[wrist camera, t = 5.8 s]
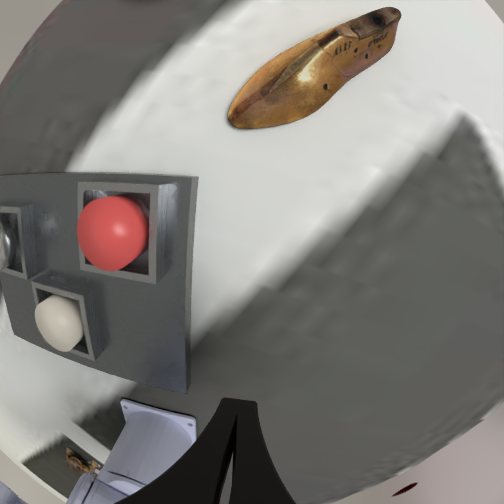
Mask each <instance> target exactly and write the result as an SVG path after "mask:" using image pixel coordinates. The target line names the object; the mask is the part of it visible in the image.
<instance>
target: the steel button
mask: <svg viewBox="0 0 504 504" xmlns="http://www.w3.org/2000/svg"><path fill="white" fill-rule="evenodd" d="M16 255H17V243H16V237H15V233H14V230H13V228H12V226H11V224H10V222H9V221H8V220H7V219H6V218H5V217H3V216H0V270H2V269H4V268H6V267H9V266H11V265H12V264H13V263H14V262H15V259H16Z"/></svg>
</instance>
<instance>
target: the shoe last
mask: <svg viewBox="0 0 504 504" xmlns="http://www.w3.org/2000/svg"><path fill="white" fill-rule="evenodd" d="M400 18H401V12H400V11H399V10H398V9H396V8H393V7H385V8H381V9H378V10H375V11H372V12H370V13H367V14H365V15H362V16H360V17H358V18H355V19H352V20H350V21H348V22H346V23H344V24H341V25H338V26H336V27H334V28H332V29H329V30H327V31H325V32H322V33H320V34H317V35H315V36H313V37H311V38H309V39H307V40H305V41H303V42H301V43H299V44H297V45H295V46H294V47H292V48H290V49H288V50H286V51H285V52H283V53H281V54H279V55H278V56H277V57H275V58H274V59H272V60H271V61H269V62H268V63H267V64H265V65H264V66H263V67H262V68H260V69H259V70H258V71H257V72H256V73H255V74H254V75H253V76H252V77H251V78H250V79H249V80H248V82H247V83H246V84H245V85H244V86H243V87H242V89H241V90H240V91H239V92H238V94H237V96H236V97H235V99H234V101H233V102H232V104H231V106H230V109H229V112H228V119H229V122H230V123H231V124H232V125H233V126H235V127H237V128H242V129H253V128H263V127H272V126H278V125H282V124H287V123H291V122H294V121H296V120H299V119H302V118H304V117H306V116H309V115H310V114H312V113H314V112H315V111H317V110H318V109H319V108H321V107H322V106H323V105H324V104H325V103H326V102H327V101H328V100H329V99H330V98H331V97H332V96H333V95H334V94H335V93H336V92H337V91H338V90H339V89H340V88H341V87H342V86H343V85H344V84H345V83H346V82H347V81H349V80H350V79H351V78H353V77H354V76H356V75H357V74H359V73H360V72H362V71H363V70H365V69H367V68H368V67H370V66H371V65H373V64H374V63H376V62H377V61H378V60H379V59H381V58H382V57H383V56H385V55H386V54H387V53H388V52H389V51H390V49H391V48H392V46H393V44H394V41H395V35H396V31H397V26H398V23H399V20H400Z"/></svg>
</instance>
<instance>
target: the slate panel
mask: <svg viewBox="0 0 504 504" xmlns="http://www.w3.org/2000/svg"><path fill="white" fill-rule="evenodd" d="M197 187H198V177H194V176H180V175H164V174H144V173H114V172H52V173H25V174H7V175H0V216H3V217H5V218H6V219H7V220H8V221H9V222H10V224H11V226H12V228H13V230H14V233H15V237H16V243H17V255H16V259H15V262H14V263H13V264H12V265H11V266H9V267H6V268H4V269H2V270H0V278H1V284H2V289H3V293H4V298H5V302H6V306H7V311H8V314H9V318H10V322H11V325H12V329H13V332H14V335H16V336H18V337H20V338H22V339H24V340H26V341H28V342H31V343H33V344H35V345H37V346H39V347H41V348H44V349H46V350H48V351H50V352H53V353H55V354H58V355H60V356H62V357H65V358H67V359H70V360H72V361H75V362H78V363H80V364H83V365H86V366H89V367H91V368H94V369H97V370H100V371H103V372H106V373H109V374H112V375H115V376H118V377H122V378H125V379H128V380H132V381H135V382H139V383H142V384H146V385H150V386H154V387H158V388H162V389H166V390H170V391H174V392H179V393H183V394H187V391H188V388H189V386H190V383H191V381H190V322H191V284H192V261H193V242H194V226H195V212H196V199H197ZM118 194H129V195H132V196H134V197H136V198H138V199H139V200H141V201H142V202H143V203H144V204H145V206H146V207H147V209H148V210H149V212H150V215H149V247H148V249H147V250H146V251H145V252H144V253H143V254H142V255H141V256H139V257H138V258H136V259H135V260H133V261H132V262H130V263H129V264H128V265H126V266H125V267H123V268H122V269H119V270H116V271H105V270H102V269H99V268H97V267H96V266H94V265H93V264H92V263H91V262H90V261H89V260H88V259H87V258H86V257H85V255H84V254H83V252H82V250H81V248H80V245H79V242H78V237H77V224H78V219H79V216H80V214H81V212H82V210H83V209H84V207H85V206H86V205H87V204H88V203H90V202H91V201H93V200H96V199H99V198H104V197H108V196H113V195H118ZM53 294H58V295H61V296H64V297H68V298H71V299H75V300H79V304H80V310H81V316H82V322H83V328H84V333H85V336H84V337H83V338H82V339H81V340H80V341H79V342H78V343H77V344H76V345H75V346H74V347H73V348H72V349H71V350H70V351H67V352H63V351H59V350H57V349H55V348H54V347H52V346H51V345H50V344H49V343H48V342H47V341H46V340H45V339H44V337H43V336H42V334H41V333H40V331H39V329H38V327H37V324H36V321H35V309H36V307H37V305H38V304H39V303H41V302H42V301H44V300H45V299H47V298H48V297H50V296H51V295H53Z"/></svg>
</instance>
